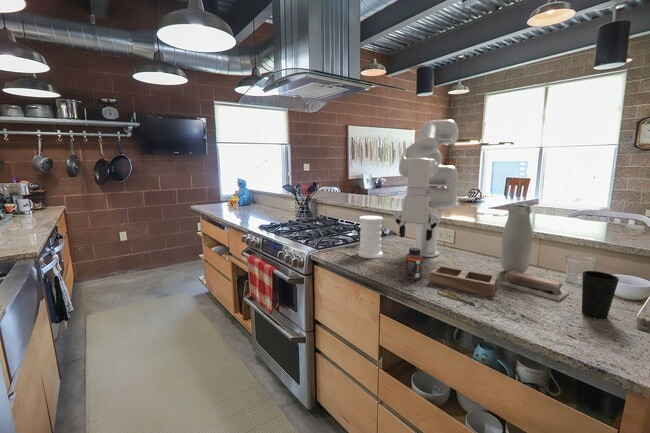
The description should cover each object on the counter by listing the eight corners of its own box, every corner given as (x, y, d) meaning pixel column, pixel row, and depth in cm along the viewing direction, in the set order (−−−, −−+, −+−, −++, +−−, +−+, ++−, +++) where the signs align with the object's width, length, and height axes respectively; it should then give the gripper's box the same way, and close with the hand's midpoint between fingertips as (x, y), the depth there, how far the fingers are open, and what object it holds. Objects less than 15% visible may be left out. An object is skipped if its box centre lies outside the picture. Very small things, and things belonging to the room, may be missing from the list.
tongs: (473, 309, 96) (474, 302, 95) (435, 296, 106) (436, 290, 106) (480, 305, 98) (480, 299, 98) (442, 293, 108) (443, 287, 108)
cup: (570, 309, 94) (575, 271, 92) (594, 308, 95) (600, 270, 93) (594, 322, 87) (600, 280, 85) (619, 321, 87) (626, 280, 85)
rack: (437, 274, 123) (437, 264, 123) (496, 286, 112) (497, 275, 111) (429, 283, 115) (429, 272, 114) (492, 296, 103) (493, 285, 102)
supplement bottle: (422, 280, 117) (423, 251, 115) (405, 279, 118) (406, 250, 116) (420, 275, 122) (422, 247, 121) (404, 274, 124) (406, 246, 122)
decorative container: (387, 256, 147) (388, 218, 144) (365, 259, 142) (366, 220, 139) (374, 250, 157) (375, 214, 154) (353, 252, 153) (354, 216, 150)
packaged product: (501, 273, 113) (512, 267, 119) (499, 285, 114) (511, 279, 120) (561, 288, 99) (571, 281, 105) (559, 303, 100) (569, 295, 106)
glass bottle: (530, 272, 126) (538, 202, 121) (524, 279, 119) (533, 205, 114) (503, 266, 133) (509, 200, 128) (495, 272, 125) (502, 203, 121)
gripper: (444, 193, 113) (441, 239, 115) (398, 190, 122) (396, 233, 125) (439, 194, 107) (436, 243, 109) (391, 191, 116) (389, 237, 119)
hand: (415, 238), depth 117 cm, fingers open, 9 cm apart
